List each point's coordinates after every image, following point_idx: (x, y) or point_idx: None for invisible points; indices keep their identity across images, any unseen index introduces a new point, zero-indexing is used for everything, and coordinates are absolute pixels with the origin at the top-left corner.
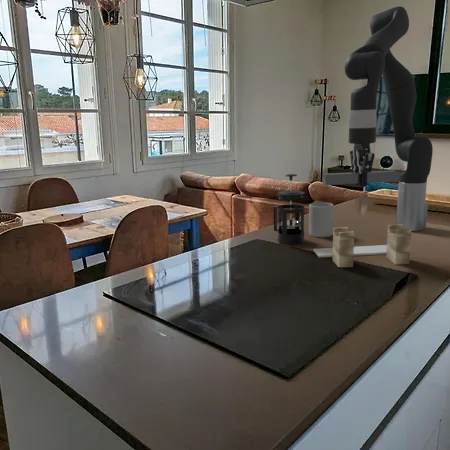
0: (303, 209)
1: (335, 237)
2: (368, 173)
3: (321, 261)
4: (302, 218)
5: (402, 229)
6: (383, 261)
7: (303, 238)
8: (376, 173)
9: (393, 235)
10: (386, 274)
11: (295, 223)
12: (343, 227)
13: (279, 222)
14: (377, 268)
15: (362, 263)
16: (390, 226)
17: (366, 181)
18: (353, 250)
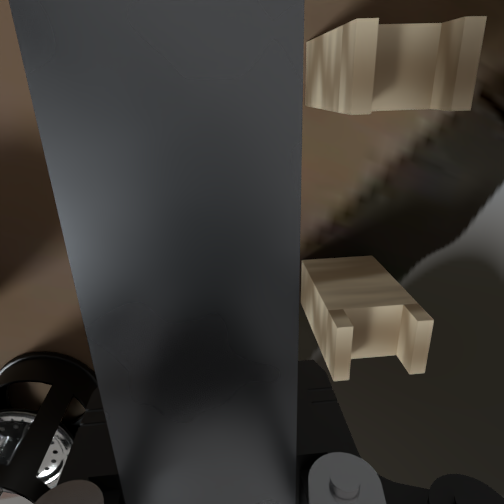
0: (9, 478)
1: (355, 355)
2: (295, 436)
3: (300, 333)
4: (40, 443)
5: (472, 75)
6: (343, 133)
7: (63, 368)
8: (297, 315)
9: (409, 109)
10: (466, 174)
11: (14, 437)
12: (343, 343)
13: (4, 489)
14: (406, 183)
15: (347, 216)
16: (369, 106)
17: (331, 388)
18: (396, 281)
